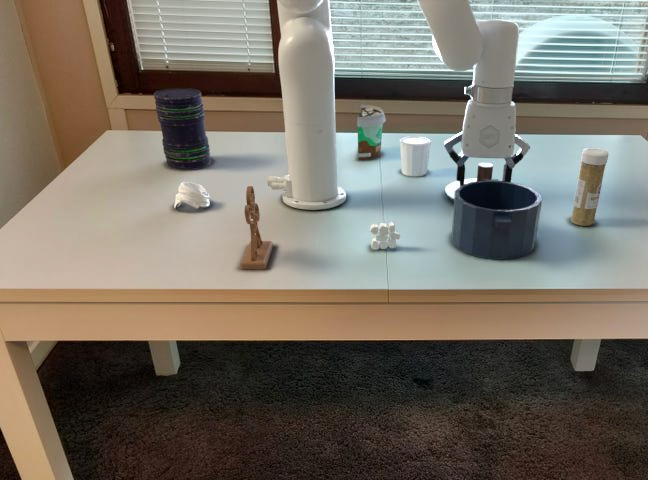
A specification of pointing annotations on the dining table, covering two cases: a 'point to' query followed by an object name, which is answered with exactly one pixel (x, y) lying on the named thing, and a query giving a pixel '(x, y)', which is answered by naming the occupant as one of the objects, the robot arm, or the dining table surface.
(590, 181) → the sprinkles bottle
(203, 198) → the whipped cream
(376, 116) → the food container
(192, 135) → the storage jar
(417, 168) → the white cup
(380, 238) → the white marshmallow cluster
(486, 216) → the pot
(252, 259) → the brown upright openwork piece
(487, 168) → the pot lid
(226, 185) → the dining table surface
